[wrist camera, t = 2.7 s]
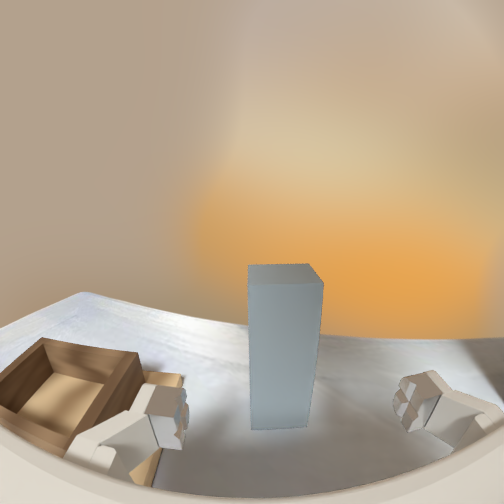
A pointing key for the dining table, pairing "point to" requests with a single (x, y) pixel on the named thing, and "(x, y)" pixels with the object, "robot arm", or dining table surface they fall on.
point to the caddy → (73, 394)
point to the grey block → (282, 343)
